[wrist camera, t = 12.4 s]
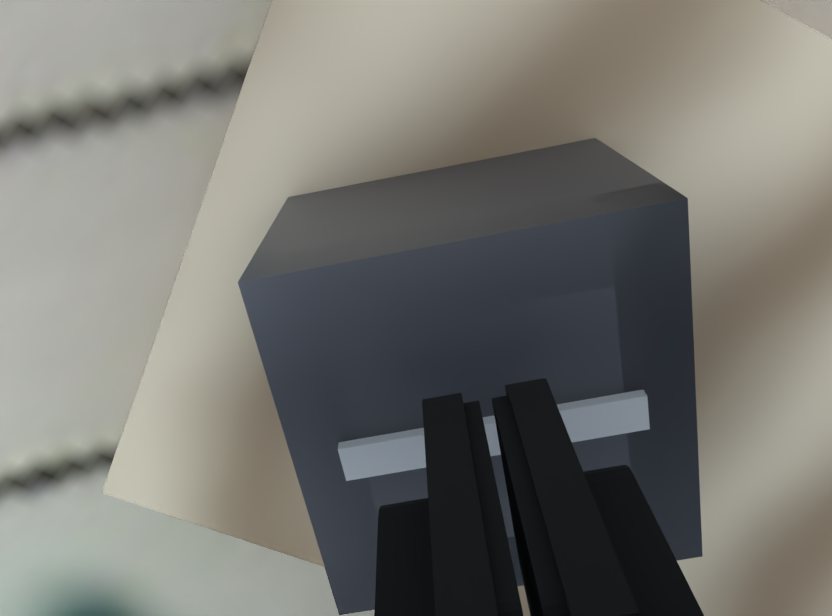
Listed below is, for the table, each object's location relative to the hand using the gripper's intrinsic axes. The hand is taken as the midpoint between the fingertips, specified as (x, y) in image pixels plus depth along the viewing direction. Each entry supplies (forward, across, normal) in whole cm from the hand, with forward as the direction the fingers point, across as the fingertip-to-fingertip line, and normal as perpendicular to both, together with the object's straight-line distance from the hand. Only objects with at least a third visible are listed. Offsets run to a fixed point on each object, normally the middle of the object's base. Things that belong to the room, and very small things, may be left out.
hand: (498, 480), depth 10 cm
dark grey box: (+6, 0, 0) cm, 7 cm away
